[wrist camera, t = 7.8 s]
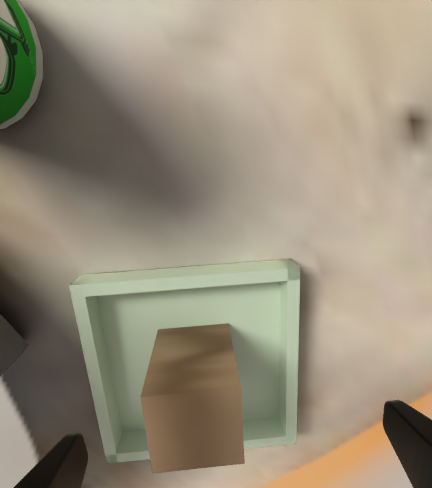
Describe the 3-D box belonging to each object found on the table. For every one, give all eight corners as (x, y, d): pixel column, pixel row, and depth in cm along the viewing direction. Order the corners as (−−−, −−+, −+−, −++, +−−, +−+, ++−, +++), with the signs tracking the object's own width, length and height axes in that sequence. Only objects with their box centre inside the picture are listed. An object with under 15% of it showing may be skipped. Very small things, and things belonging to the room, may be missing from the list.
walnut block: (228, 323, 19) (241, 387, 14) (231, 381, 21) (244, 463, 15) (157, 329, 19) (140, 397, 13) (165, 388, 20) (152, 473, 15)
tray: (290, 258, 19) (300, 267, 17) (288, 422, 22) (296, 443, 20) (81, 274, 18) (68, 285, 16) (114, 440, 22) (106, 463, 20)
